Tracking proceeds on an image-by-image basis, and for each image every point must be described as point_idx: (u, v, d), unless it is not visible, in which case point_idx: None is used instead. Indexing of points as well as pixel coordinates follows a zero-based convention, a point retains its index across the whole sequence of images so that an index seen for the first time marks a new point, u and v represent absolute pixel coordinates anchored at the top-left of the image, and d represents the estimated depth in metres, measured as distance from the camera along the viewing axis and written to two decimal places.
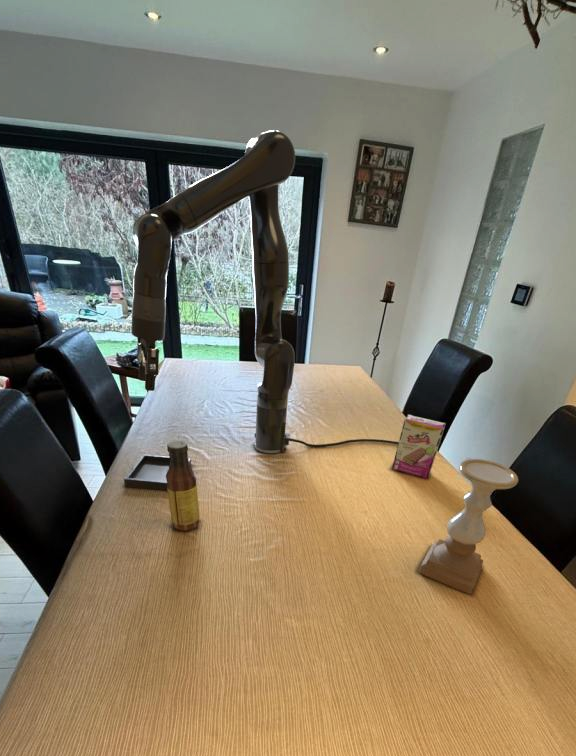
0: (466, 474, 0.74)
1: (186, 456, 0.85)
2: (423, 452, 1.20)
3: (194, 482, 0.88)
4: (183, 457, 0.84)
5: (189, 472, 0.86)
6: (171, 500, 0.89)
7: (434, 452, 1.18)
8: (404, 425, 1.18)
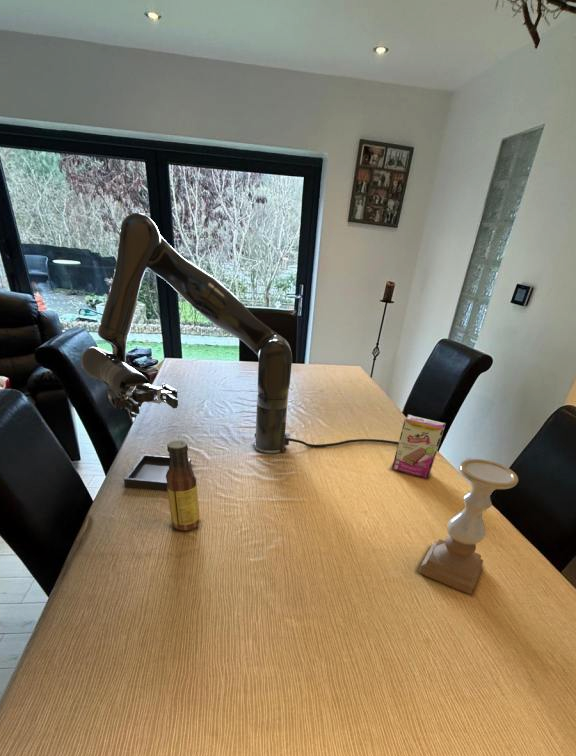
0: (466, 474, 0.74)
1: (186, 456, 0.85)
2: (423, 452, 1.20)
3: (194, 482, 0.88)
4: (183, 457, 0.84)
5: (189, 472, 0.86)
6: (171, 500, 0.89)
7: (434, 452, 1.18)
8: (404, 425, 1.18)
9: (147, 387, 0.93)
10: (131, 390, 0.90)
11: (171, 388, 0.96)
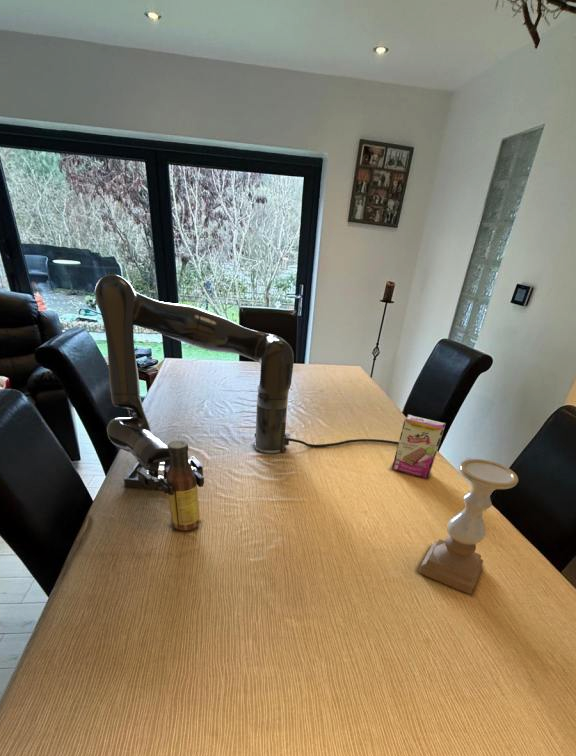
0: (466, 474, 0.74)
1: (186, 456, 0.85)
2: (423, 452, 1.20)
3: (194, 482, 0.88)
4: (183, 457, 0.84)
5: (189, 472, 0.86)
6: (171, 500, 0.89)
7: (434, 452, 1.18)
8: (404, 425, 1.18)
9: None
10: (159, 468, 0.90)
11: (197, 463, 0.94)
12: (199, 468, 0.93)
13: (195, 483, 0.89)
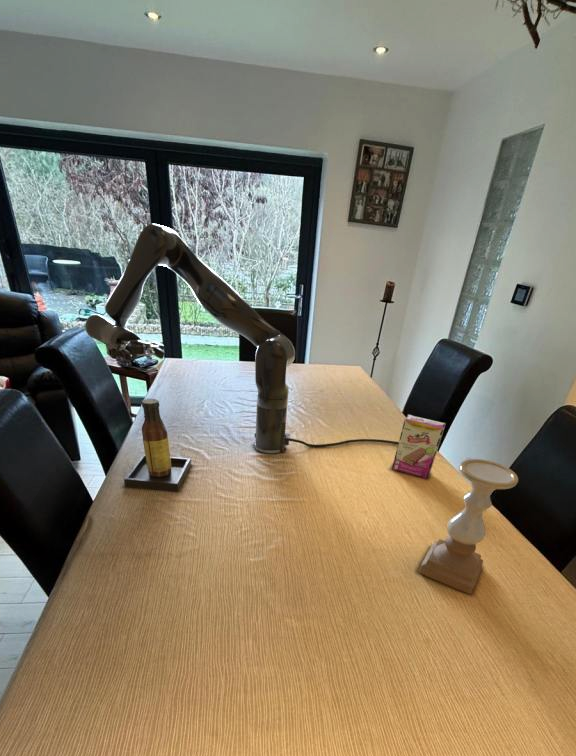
0: (466, 474, 0.74)
1: (158, 411, 1.02)
2: (423, 452, 1.20)
3: (165, 434, 1.05)
4: (154, 412, 1.01)
5: (160, 425, 1.03)
6: (146, 449, 1.06)
7: (434, 452, 1.18)
8: (404, 425, 1.18)
9: (138, 342, 1.12)
10: (125, 344, 1.09)
11: (159, 344, 1.14)
12: (161, 346, 1.13)
13: (166, 435, 1.06)
